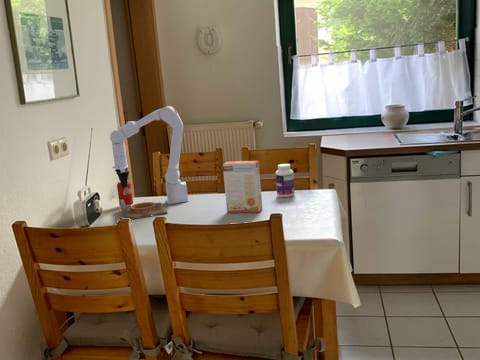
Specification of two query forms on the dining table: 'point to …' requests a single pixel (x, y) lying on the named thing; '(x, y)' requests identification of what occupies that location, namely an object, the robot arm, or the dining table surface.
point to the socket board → (142, 209)
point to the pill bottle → (284, 181)
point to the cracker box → (242, 186)
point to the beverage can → (125, 193)
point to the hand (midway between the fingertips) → (123, 185)
